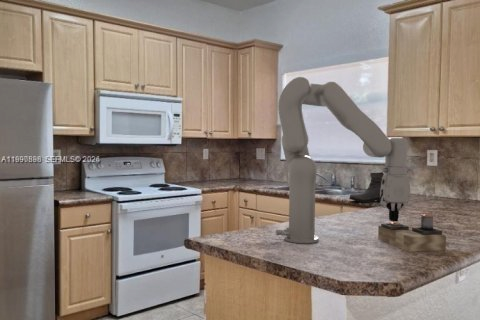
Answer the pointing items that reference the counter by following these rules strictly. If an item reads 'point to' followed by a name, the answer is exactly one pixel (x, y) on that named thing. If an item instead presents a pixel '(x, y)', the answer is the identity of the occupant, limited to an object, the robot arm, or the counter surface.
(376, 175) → the boot
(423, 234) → the maple block
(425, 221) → the peg
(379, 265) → the counter surface
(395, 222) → the peg
